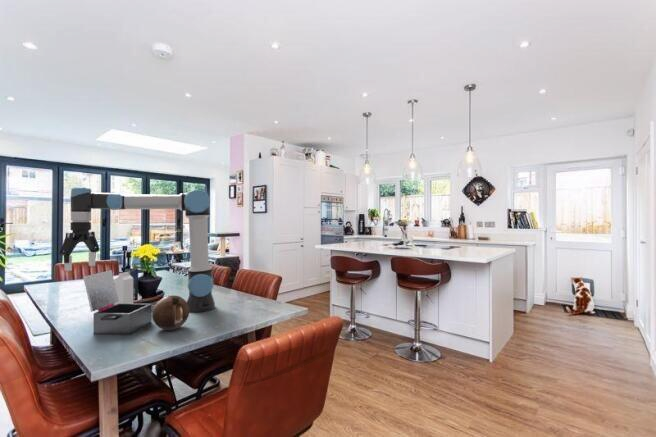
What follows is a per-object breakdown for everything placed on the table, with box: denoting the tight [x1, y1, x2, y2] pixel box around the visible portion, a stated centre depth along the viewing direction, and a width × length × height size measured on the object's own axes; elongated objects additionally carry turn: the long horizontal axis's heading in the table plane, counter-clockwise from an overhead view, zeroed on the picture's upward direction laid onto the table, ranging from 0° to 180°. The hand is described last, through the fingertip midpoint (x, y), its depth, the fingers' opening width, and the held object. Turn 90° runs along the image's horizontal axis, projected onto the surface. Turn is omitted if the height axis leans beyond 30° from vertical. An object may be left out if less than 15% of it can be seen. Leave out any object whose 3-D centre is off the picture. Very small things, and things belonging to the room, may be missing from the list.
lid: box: [83, 269, 119, 313], centre depth 149 cm, size 16×16×3 cm
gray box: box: [93, 303, 152, 336], centre depth 148 cm, size 16×21×9 cm
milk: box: [113, 271, 134, 306], centre depth 168 cm, size 6×6×22 cm
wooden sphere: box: [151, 295, 190, 331], centre depth 147 cm, size 15×15×15 cm
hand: (80, 268), depth 149 cm, fingers open, 13 cm apart
